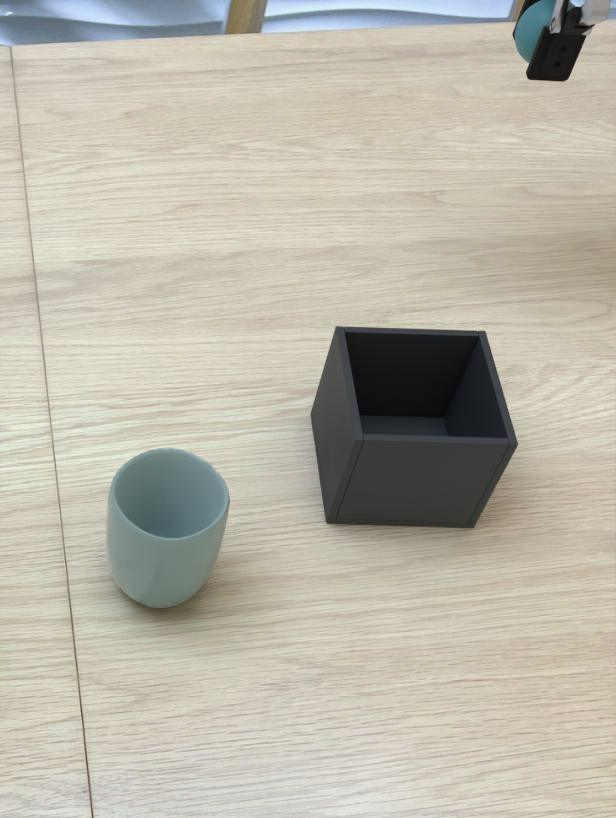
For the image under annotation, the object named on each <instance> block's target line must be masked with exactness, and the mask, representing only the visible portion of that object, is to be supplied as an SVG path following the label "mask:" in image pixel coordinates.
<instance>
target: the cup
mask: <svg viewBox="0 0 616 818" xmlns="http://www.w3.org/2000/svg"><path fill="white" fill-rule="evenodd" d="M109 485H110V486H109V490H108V494H107V503H106V515H105V516H106V517H105V552H106V554H105V555H106V560H107V561H106V562H107V564H108V568H109V570H110V574H111V576H112V578H113V579H114V581H115V583H116V584H117V586H118V587H119V588H120V590H121V591H122V592H123V593H124V594H125V595H126V596H128V597H129V598H130V599H131V600H133V601H134V602H136V603H138V604H140V605H142V606H145V607H147V608H154V609H168V608H172V607H176V606H178V605H180V604H183V603H184V602H186V601H189V599H191V598H192V597H194V595H196V593H197V594H198V592H199V591H200V590H201V589H202V587H203V586H204V585H205V584H206V582H207V580H208V579H209V577H210V575H211V573H212V571H213V569H214V567H215V565H216V563H217V560H218V557H219V554H220V551H221V548H222V544H223V539H224V535H225V531H226V526H227V522H228V517H229V510H230V503H231V499H230V492H229V488H228V485H227V483H226V481H225V479H224V478H223V477H222V475H221V474H220V472H219V471H218V470H216V469H215V467H214V466H213V465H212V464H211V463H209V462H208V461H207V460H205V459H204V458H203V457H200V456H199V455H196V454H194V453H192V452H190V451H188V450H184V449H179V448H174V447H160V448H155V449H154V448H153V449H150V450H147V451H144V452H141V453H139V454H137V455H135V456H133V457H132V458H130V459H129V460H128V461H126V462H125V463H123V464H122V465H121V467H120V468H119V469H117V471H116V472H115V474H114V475H113V478H112V480H111V481H110V484H109Z"/></svg>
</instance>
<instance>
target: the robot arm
mask: <svg viewBox="0 0 616 818" xmlns="http://www.w3.org/2000/svg"><path fill="white" fill-rule="evenodd" d="M538 1H540V0H523V3H522V6H521V9H520V12H519V13H518V18H517V20H516V23H515V25H514V28H513V30H512V34H511V35H512V38H513V41H515V31H516V27H517V24H518V22H519V20H520V18H521V16H522V15H523V14H524V12H525V11H526V10H527V9H528V8H529V7H530V6H532V5H533V4H535V3H536V2H538ZM569 2H571V0H557V1H556V4H555V8H554V11H553V15H552V18H551V21H550V26H543V29H542V31H541V34H540V37H539V39H538V42H537V44H536V47H535V50H534V52H533V55H532V57H531V60H530V63H528V65H527V68H526V70H525V76H526V78H527V80H528V81H539V82H541V81H542V82H558V83H559V82H561V83H562V82H563V83H564V82H566V81H568V80H569V78H570V77H571V74H572V73H573V70H574V67H575V64H576V62H577V61H578V58H579V55H580V53H581V50H582V48H583V46H584V43H585V42H586V39H587V36H589V35H591V33H592V30H593V28H594V27H595V26H596V25H598V24H601V23H603V22H605V21H607V20H608V17H609V14H610V9H611V4H612V0H585V2H584V3H582V4H581V5H580V6H576V7H573V8H572V9H570V10H569V11H568V12H567V9H568V6H569Z"/></svg>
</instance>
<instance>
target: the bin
mask: <svg viewBox="0 0 616 818" xmlns="http://www.w3.org/2000/svg"><path fill="white" fill-rule="evenodd" d="M501 383H502V382H501V380H500V376H499V372H498V369H497V366H496V362H495V359H494V355H493V352H492V348H491V345H490V342H489V338H488V335H487V331H486V330H474V329H473V330H471V329H469V330H468V329H440V328H439V329H437V328H435V329H434V328H407V327H405V328H404V327H371V326H341V325H336V326H335V327H334V331H333V335H332V338H331V341H330V345H329V348H328V352H327V355H326V358H325V362H324V365H323V369H322V371H321V376H320V380H319V382H318V385H317V389H316V393H315V396H314V399H313V403H312V407H311V410H310V420H311V427H312V435H313V442H314V449H315V456H316V461H317V468H318V477H319V483H320V490H321V497H322V503H323V510H324V511H323V512H324V517H325V518H324V519H325V523H326V524H331V525H333V524H334V525H365V526H367V525H369V526H403V527H431V528H433V527H435V528H436V527H437V528H467V529H468V528H469V529H474V528H475V526H476V525H477V523H478V521H479V519H480V518H481V515H482V513H483V511H484V510H485V508H486V506H487V504H488V502H489V500H490V498H491V497H492V494H493V493H494V491H495V489H496V487H497V485H498V483H499V481H500V480H501V478H502V476H503V474H504V472H505V470H506V468H507V467H508V465H509V463H510V461H511V459H512V458H513V455H514V454H515V452H516V450H517V448H518V447H519V442H518V439H517V435H516V432H515V428H514V424H513V421H512V418H511V414H510V411H509V407H508V404H507V400H506V397H505V393H504V391H503V386H502V384H501Z"/></svg>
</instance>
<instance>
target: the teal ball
mask: <svg viewBox="0 0 616 818" xmlns="http://www.w3.org/2000/svg"><path fill="white" fill-rule="evenodd" d="M556 1H557V0H540V1H538V2H536V3H535V4H533V5H532V6H530V7H529V8H528V9H527V10H526V11H525V12H524V14H523V15H522V16H521V18H520V20H519V22H518V24H517V27H516V31H515V40H514V43H515V47H516V50H517V52H518V54H519V56H520V57H521V58H522V59H523V60H524V61H525V62H526V63H528V64H529V63H530V60H531V57H532V55H533V52H534V50H535V47H536V44H537V42H538V39H539V37H540V34H541V31H542V29H543V26H550V21H551V18H552V15H553V11H554V8H555V4H556ZM573 7H577V5H575V4H574V3H572V1H570V2H569V6H568V9H567V12H568V11H569V10H570V9H572V8H573Z"/></svg>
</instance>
